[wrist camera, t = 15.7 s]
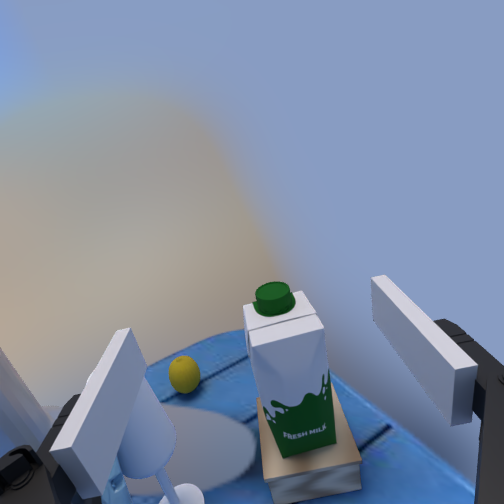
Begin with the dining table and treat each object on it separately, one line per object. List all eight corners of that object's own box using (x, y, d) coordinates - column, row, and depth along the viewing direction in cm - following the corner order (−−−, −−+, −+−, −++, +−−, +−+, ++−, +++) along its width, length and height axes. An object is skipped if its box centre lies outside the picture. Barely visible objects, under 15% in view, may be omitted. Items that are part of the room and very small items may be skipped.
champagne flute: (209, 526, 38) (146, 382, 28) (154, 556, 36) (68, 413, 27) (199, 474, 44) (144, 341, 34) (152, 497, 42) (81, 364, 33)
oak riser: (272, 509, 38) (263, 479, 36) (263, 425, 49) (256, 397, 46) (364, 491, 38) (362, 460, 35) (335, 410, 48) (331, 382, 46)
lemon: (208, 378, 60) (197, 346, 57) (199, 402, 55) (187, 369, 52) (182, 379, 61) (170, 348, 58) (171, 403, 56) (158, 370, 53)
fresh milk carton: (321, 391, 45) (303, 272, 37) (347, 449, 37) (331, 312, 29) (263, 406, 45) (233, 289, 37) (277, 470, 36) (241, 335, 29)
